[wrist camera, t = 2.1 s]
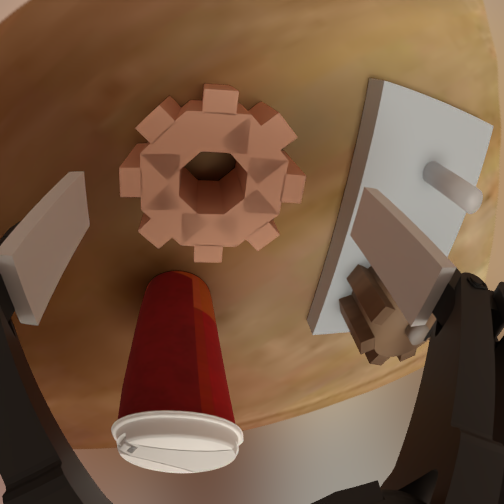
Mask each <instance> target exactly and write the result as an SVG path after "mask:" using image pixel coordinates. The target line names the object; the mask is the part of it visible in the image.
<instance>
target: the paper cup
mask: <svg viewBox="0 0 504 504" xmlns="http://www.w3.org/2000/svg"><path fill="white" fill-rule="evenodd" d="M111 431H112V435H113V437H114V439H115V440H116V441H117V448H118V451H119V453H120V455H121V456H122V457H123V458H124V459H125V460H126V461H128V462H130V463H132V464H134V465H137V466H140V467H143V468H146V469H150V470H155V471H162V472H171V473H194V472H195V473H196V472H203V471H209V470H214V469H218V468H221V467H223V466H225V465H228V464H229V463H231V462H232V461H233V460H234V459H235V457H236V455H237V454H238V451H239V448H238V446H239V445H240V444H241V443H242V442H243V432H242V430H241V428H239V427H238V426H237V425H236V424H235V420H234V415H233V410H232V405H231V401H230V396H229V391H228V385H227V380H226V375H225V370H224V364H223V359H222V353H221V348H220V343H219V337H218V331H217V326H216V320H215V315H214V309H213V304H212V299H211V295H210V291H209V289H208V287H207V285H206V284H205V282H204V281H203V280H202V279H200V278H199V277H197V276H196V275H194V274H191V273H188V272H184V271H169V272H165V273H162V274H160V275H158V276H156V277H155V278H153V279H152V280H151V281H150V283H149V284H148V286H147V288H146V291H145V294H144V297H143V301H142V304H141V308H140V312H139V316H138V320H137V325H136V329H135V333H134V338H133V342H132V347H131V351H130V356H129V360H128V364H127V369H126V373H125V378H124V383H123V388H122V394H121V401H120V408H119V415H118V420H117V421H115V422H114V424H113V425H112V428H111Z"/></svg>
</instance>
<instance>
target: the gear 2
mask: <svg viewBox="0 0 504 504" xmlns="http://www.w3.org/2000/svg"><path fill="white" fill-rule="evenodd" d="M346 279H347V281H348V282H349V284H350V286H351V288H352V289H353V291H352V295H349V296H346V297H343V298H340V299H339V306H340V312H341V314H342V316H343V318H344V320H345V322H346V324H347V326H348V329H349V331H350V333H351V335H352V337H353V339H354V341H355V343H356V345H357V347H358V349H359V352H360V354H363V353H365V355H366V357H367V359H368V361H369V363H370V364H376V365H382V364H383V363H384V362H385V361H386V360H387V359H389V358H390V357H394V356H397V357H398V359H399V360H400V362H401V361H403V360H405V359H407V358H410V357H412V356H414V355H415V353H416V349H417V347H419V346H421V345H422V344H424V343H425V342H426V341H427V340H430V338H428V339H427V340H426V341H423V340H424V338H425V336H426V335H427V333H428V332H429V330H430V329H431V327H432V325H433V324H434V322H435V321H436V318H435V316H434V315H433V313H432V314H431V316H430V317H429V319H428V321H427V322H426V324H425V325H420V326H412V327H411V326H410V325H409V323H408V321H407V320H406V318H405V317H404V315H403V313H402V312H401V310H400V309H399V307H398V305H397V304H396V302H395V301H394V299H393V298H392V296H391V295H390V293H389V291H388V290H387V288H386V287H385V285H384V284H383V282H382V281H381V279H380V278H379V276H378V275H377V273H376V272H375V270H374V269H373V267H372V266H370V267H369V268H366V267H364V266H362V265H359V264H358V265H357V266H356V267H355V268H354V270H353V271H352V272H351V273H350V275H349V276H348V277H347V278H346Z"/></svg>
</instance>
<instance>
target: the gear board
mask: <svg viewBox="0 0 504 504" xmlns="http://www.w3.org/2000/svg"><path fill="white" fill-rule="evenodd" d="M492 130H493V126H492V125H490V124H489V123H487V122H485V121H483V120H481V119H479V118H477V117H475V116H473V115H470V114H468V113H466V112H464V111H462V110H460V109H458V108H455V107H453V106H451V105H449V104H446V103H444V102H441V101H439V100H437V99H434V98H432V97H429V96H427V95H424V94H422V93H419V92H416V91H414V90H411V89H408V88H405V87H402V86H399V85H397V84H394V83H391V82H387V81H384V80H379V79H374V78H369V84H368V89H367V94H366V99H365V104H364V109H363V114H362V119H361V124H360V129H359V133H358V138H357V142H356V147H355V151H354V155H353V160H352V164H351V168H350V172H349V176H348V180H347V184H346V188H345V192H344V196H343V200H342V204H341V207H340V211H339V215H338V219H337V222H336V226H335V229H334V233H333V237H332V240H331V244H330V247H329V250H328V254H327V257H326V261H325V264H324V267H323V271H322V274H321V277H320V280H319V284H318V287H317V290H316V293H315V296H314V299H313V303H312V306H311V309H310V312H309V315H308V318H307V321H308V324H309V327H310V329H311V332H312V335H318V334H331V333H342V332H350V331H349V329H348V326H347V324H346V322H345V320H344V318H343V316H342V314H341V312H340V306H339V299H340V298H343V297H346V296H349V295H352V291H353V289H352V288H351V286H350V284H349V282H348V281H347V279H346V278H347V277H348V276H349V275H350V273H351V272H352V271H353V270H354V268H355V267H356V266H357V265H358V264H359V265H362V266H364V267H366V268H369V267H370V266H371V264H370V263H369V262H368V260H367V259H366V257H365V256H364V254H363V253H362V251H361V250H360V249H359V247H358V246H357V244H356V243H355V242H354V240H353V239H352V237H351V236H350V234H351V230H352V227H353V224H354V220H355V217H356V214H357V210H358V207H359V203H360V200H361V196H362V193H363V189H364V187H368V188H375V189H378V190H379V191H380V192H381V193H382V194H383V195H384V196H386V197H387V198H388V199H389V200H390V201H391V202H392V203H393V204H394V205H395V206H396V207H397V208H399V209H400V210H401V211H402V212H403V213H404V214H405V215H406V216H407V217H408V218H409V219H410V220H411V221H412V222H413V223H414V224H415V225H416V226H417V227H418V228H419V229H420V230H421V231H422V232H423V233H424V234H425V235H426V236H427V237H428V238H429V239H430V240H431V241H432V242H433V243H434V244H435V245H436V246H437V247H438V248H439V249H440V250H441V251H442V252H443V253H444V255H445V256H446V257H448V254H449V252H450V250H451V248H452V245H453V243H454V241H455V239H456V236H457V234H458V232H459V229H460V227H461V224H462V222H463V219H464V217H465V214H466V212H467V213H468V214H473V213H475V212H476V211H477V210H478V209H479V207H480V205H481V203H482V199H483V194H482V192H481V190H479V189H478V188H476V184H477V181H478V178H479V175H480V172H481V169H482V166H483V162H484V159H485V156H486V152H487V149H488V145H489V141H490V138H491V134H492Z"/></svg>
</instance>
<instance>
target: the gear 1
mask: <svg viewBox="0 0 504 504" xmlns="http://www.w3.org/2000/svg"><path fill="white" fill-rule="evenodd" d="M238 96H239V91H238V90H236V89H235V88H233V87H232V86H230V85H220V84H204V88H203V98H202V100H190V101H189V102H187V103H186V104H185V105H184V106H183V107H182V108H181V107H180V106H179V105H178V103H177V102H176V101H175V100H174V99H173V98H172V97H171V96H169V97H167V98H166V99H165V100H164V101H163V102H162V103H161V104H160V105H159V106H158V107H156V108H155V109H154V110H153V111H152V112H151V113H150V114H149V115H148V116H147V117H146V118H145V119H144V120H143V121H142V122H141V123H140V124H139V125H138V126H137V127H136V128H135V129H136V130H137V131H138V132H139V133H140V134H141V135H142V136H143V137H144V138H145V139H146V140H147V141H148V142H147V143H137V144H136V146H135V147H134V148H133V150H132V151H131V152H130V154H129V155H128V156H127V158H126V159H125V160H124V162H123V163H122V164H121V166H120V167H119V179H120V197H141V210H142V211H143V212H144V213H143V216H142V219H141V223H140V226H139V229H138V232H139V233H140V234H141V235H143V236H144V237H145V238H146V239H147V240H148V241H150V242H151V243H152V244H153V245H154V246H155V247H157V248H158V249H159V248H160V247H162V246H163V245H164V244H165V243H166V242H167V241H168V240H170V239H171V238H173V239H174V240H175V241H177V242H178V243H179V244H180V245H181V246H194V262H218V263H222V251H223V247H236V246H238V245H239V244H240V243H242V242H243V241H244V240H247V241H248V242H249V243H250V244H251V245H252V246H253V247H254V248H255V249H256V250H257V251H259V250H260V249H261V248H263V247H264V246H265V245H267V244H268V243H270V242H271V241H272V240H274V239H275V238H276V237H278V236H279V235H280V234H279V232H278V229H277V227H276V225H275V223H274V220H273V219H274V218H275V217H276V216H278V215H279V213H280V207H281V202H288V203H301V200H302V195H303V190H304V185H305V180H306V175H305V174H304V173H303V172H302V170H301V169H300V168H299V167H298V166H297V165H296V164H295V162H294V161H293V160H292V159H291V158H290V157H289V156H288V155H287V153H286V152H285V151H284V150H281V149H283V148H284V147H285V146H287V145H288V144H289V143H291V142H292V141H293V140H295V139H296V138H297V136H296V134H295V133H294V131H293V130H292V129H291V127H290V126H289V125H288V124H287V122H286V121H285V120H284V118H283V117H282V116H281V114H280V113H279V112H277V111H276V110H274V109H273V108H271V107H270V106H268V105H266V104H265V103H263V102H262V101H260V102H259V103H258V104H256V105H255V106H254V107H252V108H251V109H250V110H248V111H247V110H246V109H245V108H244V107H243V106H242V105H241V104H240V103H238ZM201 151H202V152H223V153H230V154H231V155H232V156H233V157H234V158H235V159H236V163H235V168H234V169H233V170H232V171H230V172H229V173H228V174H227V175H226V176H224V177H223V178H222V179H221V180H219V181H205V180H197V179H196V178H195V177H194V176H193V175H192V174H191V173H190V172H189V171H188V170H187V169H186V168H185V167H184V166H185V165H186V164H187V163H188V162H189V161H190V160H192V159H193V158H194V157H195V156H196V155H197V154H199V153H200V152H201Z"/></svg>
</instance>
